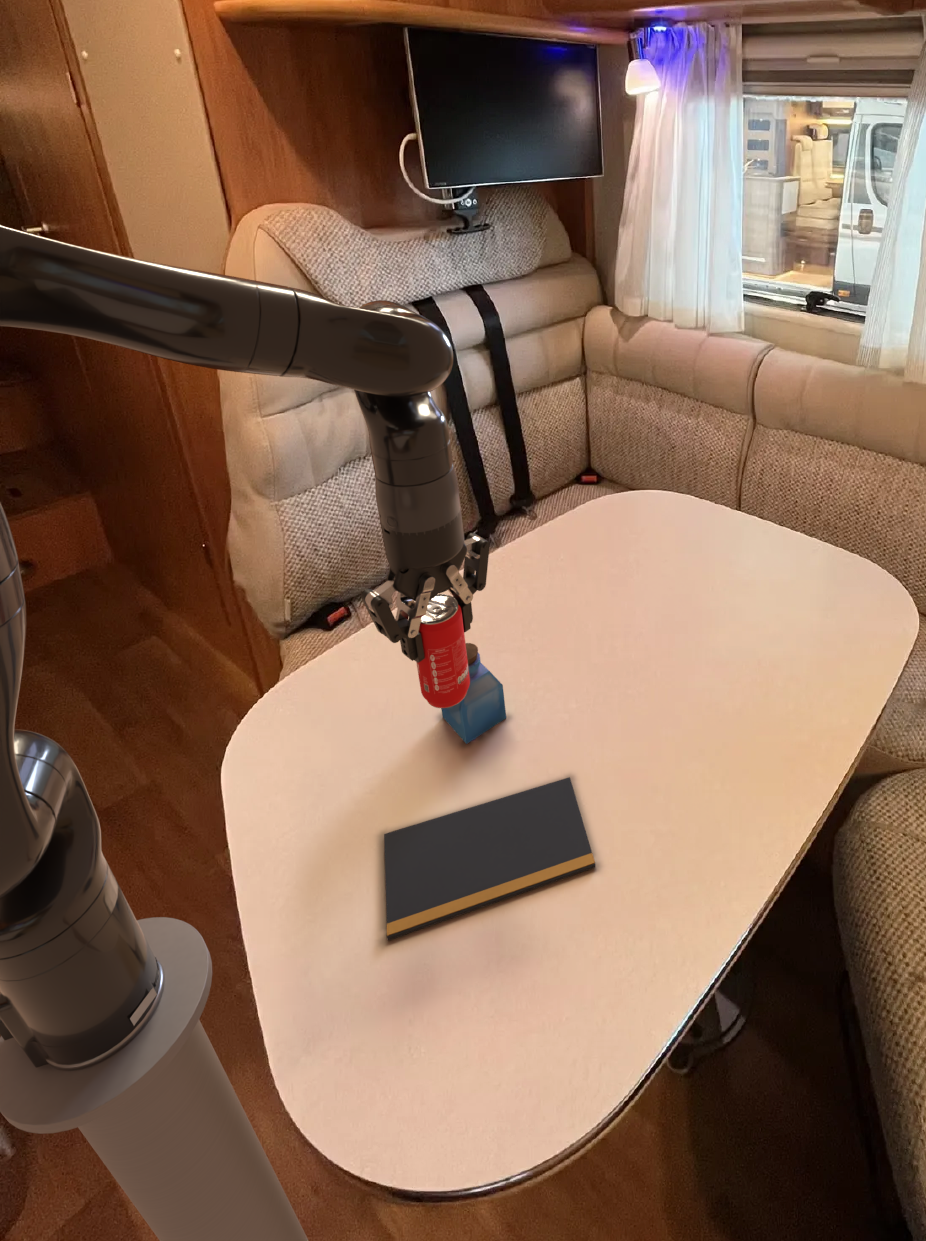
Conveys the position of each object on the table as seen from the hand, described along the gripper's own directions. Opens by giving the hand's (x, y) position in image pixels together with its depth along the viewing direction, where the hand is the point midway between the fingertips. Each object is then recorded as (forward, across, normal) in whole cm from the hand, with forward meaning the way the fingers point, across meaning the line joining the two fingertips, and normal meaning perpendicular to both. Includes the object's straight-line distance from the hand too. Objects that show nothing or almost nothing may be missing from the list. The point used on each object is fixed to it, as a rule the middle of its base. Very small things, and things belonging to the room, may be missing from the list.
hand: (439, 641), depth 78 cm
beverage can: (+8, 0, 0) cm, 8 cm away
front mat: (+25, +2, +8) cm, 26 cm away
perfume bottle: (+25, -9, -9) cm, 28 cm away
